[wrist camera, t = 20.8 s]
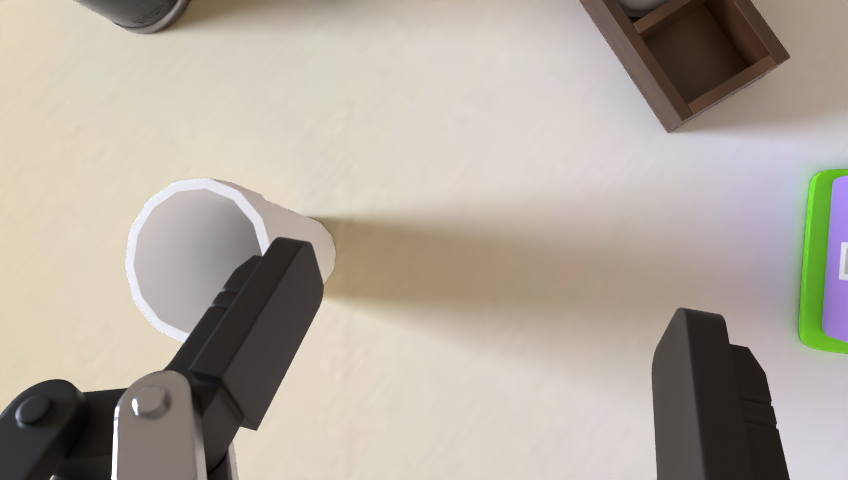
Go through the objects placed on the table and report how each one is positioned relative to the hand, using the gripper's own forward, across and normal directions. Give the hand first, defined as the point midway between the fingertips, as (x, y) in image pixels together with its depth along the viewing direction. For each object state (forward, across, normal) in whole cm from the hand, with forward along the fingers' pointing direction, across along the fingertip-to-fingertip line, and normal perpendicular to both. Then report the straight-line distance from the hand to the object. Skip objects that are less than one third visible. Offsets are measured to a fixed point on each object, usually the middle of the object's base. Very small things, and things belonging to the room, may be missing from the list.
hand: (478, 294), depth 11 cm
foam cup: (+17, +17, +21) cm, 32 cm away
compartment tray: (+33, -5, +5) cm, 34 cm away
